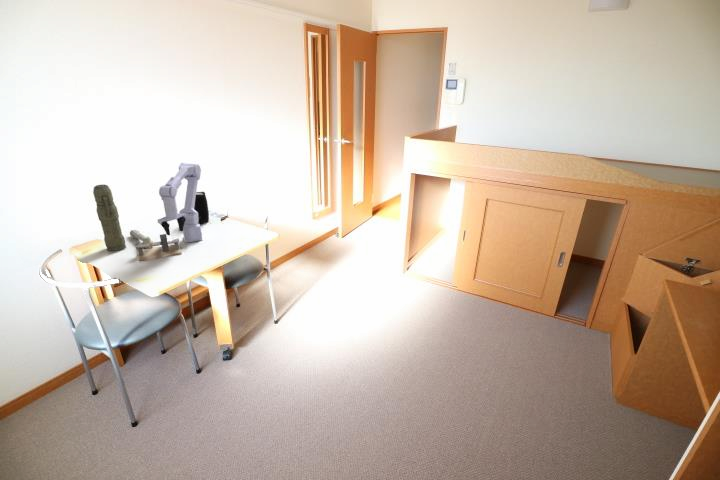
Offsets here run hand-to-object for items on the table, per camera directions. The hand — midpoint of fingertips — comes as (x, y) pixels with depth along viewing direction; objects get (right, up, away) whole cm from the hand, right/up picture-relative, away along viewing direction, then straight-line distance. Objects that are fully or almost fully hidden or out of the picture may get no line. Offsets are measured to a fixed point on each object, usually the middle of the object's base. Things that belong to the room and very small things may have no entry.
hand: (174, 232), depth 194 cm
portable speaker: (-4, +8, +44) cm, 45 cm away
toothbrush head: (-25, -5, +13) cm, 29 cm away
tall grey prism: (-5, -8, +1) cm, 10 cm away
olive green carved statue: (-33, -9, +4) cm, 35 cm away
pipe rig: (-8, -11, 0) cm, 14 cm away
